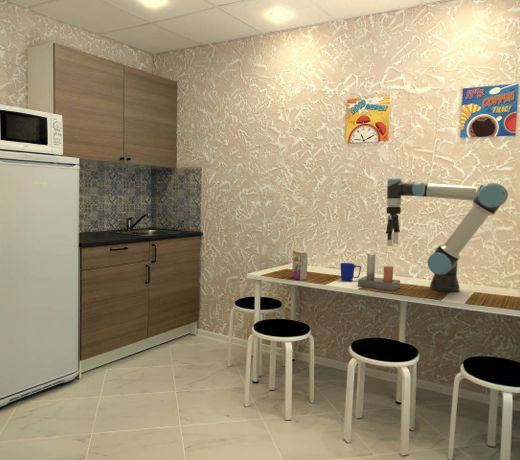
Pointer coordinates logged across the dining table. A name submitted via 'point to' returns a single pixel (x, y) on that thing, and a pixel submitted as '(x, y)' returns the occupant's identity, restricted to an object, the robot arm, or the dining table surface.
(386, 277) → the orange rectangular block
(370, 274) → the gray socket post base
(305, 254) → the candy bar box
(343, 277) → the mug
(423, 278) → the dining table surface
